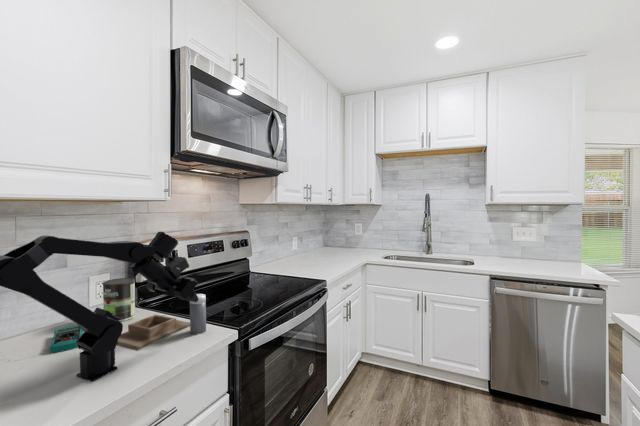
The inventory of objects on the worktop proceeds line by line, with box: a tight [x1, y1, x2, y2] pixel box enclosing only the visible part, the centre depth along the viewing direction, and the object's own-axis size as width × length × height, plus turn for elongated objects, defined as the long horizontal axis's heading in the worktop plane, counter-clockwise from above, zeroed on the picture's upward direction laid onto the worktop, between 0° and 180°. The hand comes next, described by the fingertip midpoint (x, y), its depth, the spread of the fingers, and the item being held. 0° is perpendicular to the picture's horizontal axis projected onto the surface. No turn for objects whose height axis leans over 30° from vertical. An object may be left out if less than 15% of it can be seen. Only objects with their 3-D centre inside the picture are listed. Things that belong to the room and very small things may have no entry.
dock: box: [117, 314, 190, 351], centre depth 104 cm, size 20×14×4 cm
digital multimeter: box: [49, 325, 84, 354], centre depth 98 cm, size 7×15×3 cm, turn 36°
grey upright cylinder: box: [189, 293, 207, 335], centre depth 105 cm, size 5×5×12 cm
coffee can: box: [102, 277, 136, 323], centre depth 118 cm, size 10×10×14 cm
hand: (188, 298), depth 102 cm, fingers open, 9 cm apart
